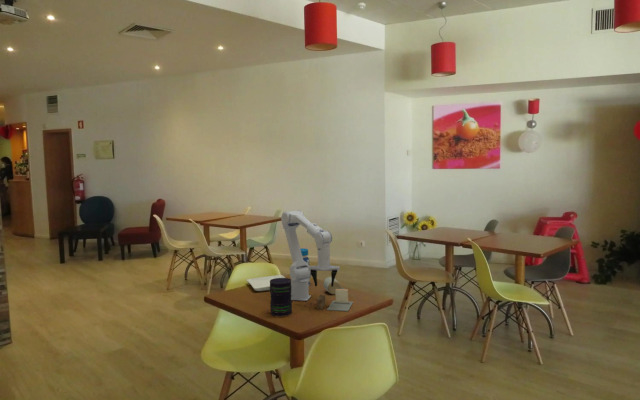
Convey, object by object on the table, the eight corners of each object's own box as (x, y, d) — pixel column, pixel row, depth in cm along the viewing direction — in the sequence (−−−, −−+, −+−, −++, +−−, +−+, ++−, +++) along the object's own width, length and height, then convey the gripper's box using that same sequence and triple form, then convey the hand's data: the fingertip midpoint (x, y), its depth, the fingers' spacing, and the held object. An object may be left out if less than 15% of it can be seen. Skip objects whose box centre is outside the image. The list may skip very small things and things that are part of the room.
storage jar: (283, 308, 221) (282, 276, 219) (296, 312, 214) (295, 280, 212) (266, 313, 214) (265, 280, 213) (279, 318, 207) (278, 284, 206)
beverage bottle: (292, 285, 261) (291, 249, 259) (304, 282, 266) (303, 247, 264) (300, 288, 254) (300, 251, 252) (313, 285, 259) (312, 249, 257)
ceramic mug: (328, 295, 239) (328, 280, 238) (323, 291, 247) (323, 277, 246) (347, 293, 242) (347, 279, 242) (342, 289, 250) (342, 275, 249)
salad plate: (254, 294, 246) (254, 287, 245) (245, 284, 265) (245, 278, 265) (293, 289, 253) (293, 283, 253) (281, 280, 273) (281, 274, 273)
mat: (326, 310, 216) (326, 308, 216) (333, 301, 230) (332, 299, 229) (348, 311, 214) (348, 309, 214) (353, 302, 227) (353, 300, 227)
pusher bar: (317, 309, 218) (316, 299, 217) (320, 305, 224) (320, 294, 224) (322, 309, 217) (321, 299, 217) (325, 305, 224) (325, 295, 223)
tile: (335, 302, 226) (335, 289, 225) (336, 302, 227) (335, 288, 226) (347, 303, 224) (347, 290, 224) (348, 302, 225) (348, 289, 225)
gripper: (307, 259, 216) (307, 288, 218) (338, 259, 215) (338, 288, 216) (309, 255, 223) (309, 283, 225) (339, 256, 221) (340, 284, 223)
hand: (324, 285), depth 221 cm, fingers open, 7 cm apart
